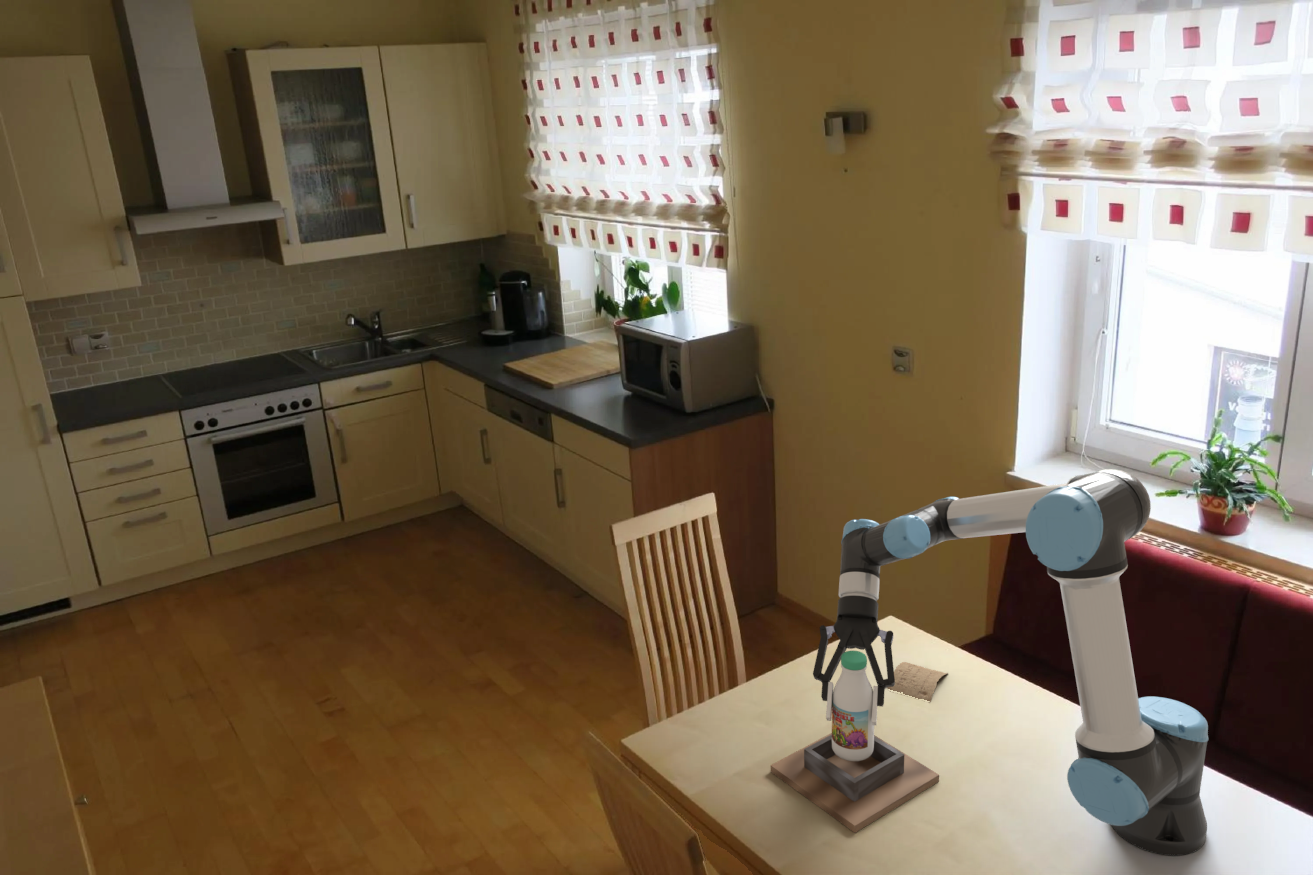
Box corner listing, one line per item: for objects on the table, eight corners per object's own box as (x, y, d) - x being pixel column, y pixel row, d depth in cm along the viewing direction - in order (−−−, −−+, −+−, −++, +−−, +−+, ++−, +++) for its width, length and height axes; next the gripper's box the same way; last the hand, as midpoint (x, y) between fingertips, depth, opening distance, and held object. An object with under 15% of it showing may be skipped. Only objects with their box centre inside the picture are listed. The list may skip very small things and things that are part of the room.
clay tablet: (930, 706, 213) (930, 695, 212) (883, 694, 218) (883, 683, 217) (950, 673, 225) (951, 663, 224) (905, 662, 230) (906, 652, 229)
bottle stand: (938, 781, 189) (939, 756, 188) (854, 832, 177) (855, 806, 176) (852, 727, 206) (852, 704, 205) (770, 771, 195) (770, 747, 193)
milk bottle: (844, 732, 196) (845, 640, 189) (881, 746, 191) (883, 653, 185) (824, 752, 190) (824, 658, 184) (861, 767, 185) (862, 672, 179)
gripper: (913, 609, 195) (908, 731, 185) (806, 601, 200) (797, 719, 190) (913, 597, 188) (908, 723, 179) (803, 589, 194) (793, 711, 184)
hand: (851, 721), depth 185 cm, fingers closed on milk bottle, 7 cm apart
